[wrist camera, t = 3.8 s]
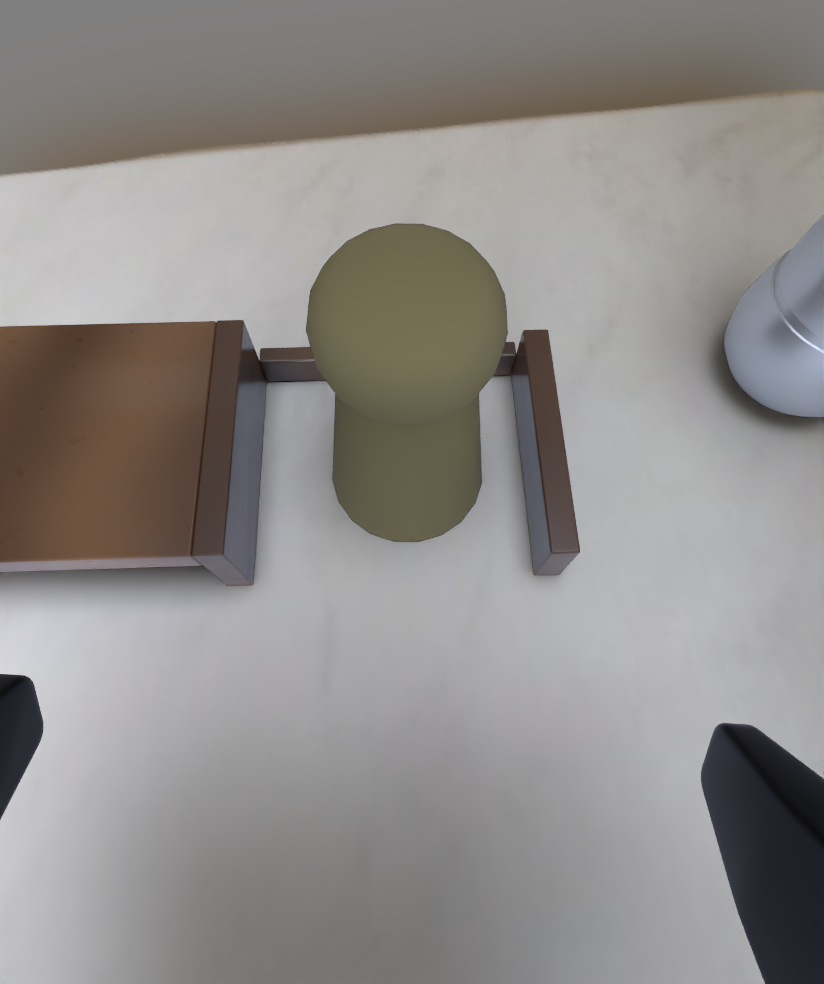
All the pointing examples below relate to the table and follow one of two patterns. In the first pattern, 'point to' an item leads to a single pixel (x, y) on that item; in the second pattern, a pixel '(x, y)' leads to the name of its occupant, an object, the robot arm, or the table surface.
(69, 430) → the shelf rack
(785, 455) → the table surface
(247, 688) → the table surface
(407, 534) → the olive green pawn
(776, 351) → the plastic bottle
